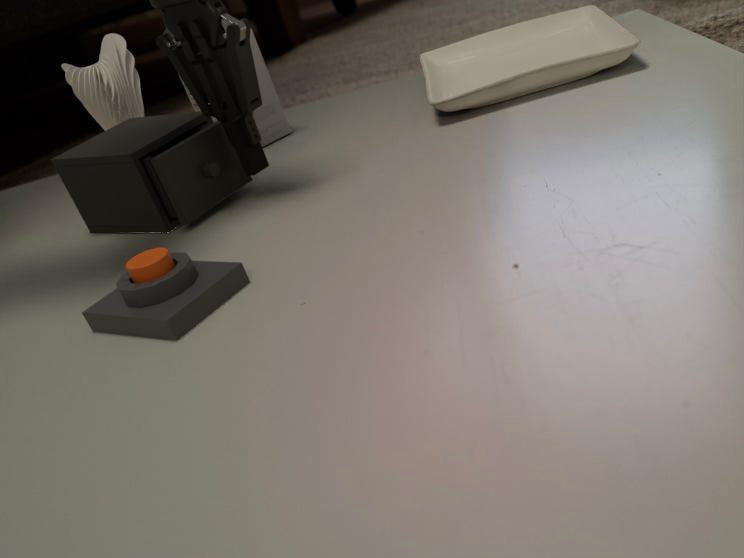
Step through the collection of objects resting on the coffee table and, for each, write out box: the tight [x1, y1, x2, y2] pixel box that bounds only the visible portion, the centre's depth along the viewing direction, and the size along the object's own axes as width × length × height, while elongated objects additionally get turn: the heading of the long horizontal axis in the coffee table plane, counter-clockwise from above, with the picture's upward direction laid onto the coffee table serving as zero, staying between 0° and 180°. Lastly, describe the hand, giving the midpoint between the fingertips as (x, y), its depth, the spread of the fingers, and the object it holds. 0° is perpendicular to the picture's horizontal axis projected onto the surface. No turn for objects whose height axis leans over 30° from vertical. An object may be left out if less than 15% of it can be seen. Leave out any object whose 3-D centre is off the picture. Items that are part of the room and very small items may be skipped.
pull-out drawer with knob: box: [140, 121, 254, 225], centre depth 101 cm, size 15×12×8 cm
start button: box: [125, 247, 175, 284], centre depth 78 cm, size 4×4×2 cm
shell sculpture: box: [61, 32, 146, 131], centre depth 124 cm, size 8×8×18 cm
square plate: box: [419, 4, 641, 113], centre depth 116 cm, size 27×27×4 cm
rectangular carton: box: [178, 28, 292, 148], centre depth 118 cm, size 9×9×15 cm
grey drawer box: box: [50, 111, 214, 234], centre depth 103 cm, size 15×13×10 cm
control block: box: [81, 252, 251, 341], centre depth 79 cm, size 12×10×4 cm
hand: (257, 170), depth 101 cm, fingers closed
